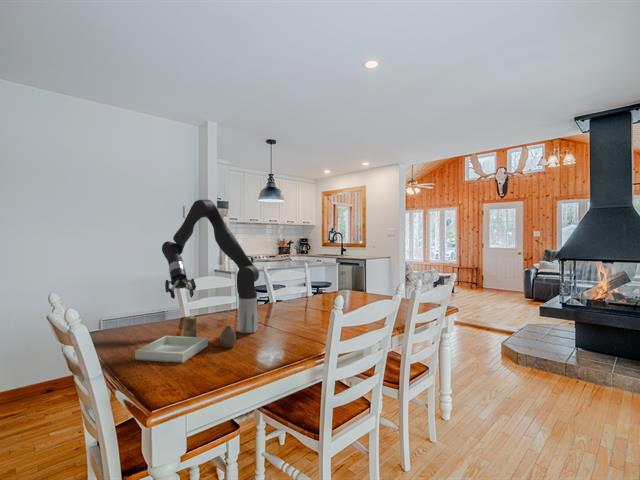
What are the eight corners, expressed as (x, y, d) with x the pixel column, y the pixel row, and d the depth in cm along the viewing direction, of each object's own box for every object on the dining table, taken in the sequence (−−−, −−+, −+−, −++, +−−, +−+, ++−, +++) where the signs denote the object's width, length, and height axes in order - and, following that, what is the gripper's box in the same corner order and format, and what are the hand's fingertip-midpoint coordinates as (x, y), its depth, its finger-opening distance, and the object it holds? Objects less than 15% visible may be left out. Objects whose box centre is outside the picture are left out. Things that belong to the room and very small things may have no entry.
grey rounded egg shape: (239, 344, 148) (239, 325, 148) (230, 349, 142) (230, 329, 142) (226, 343, 151) (226, 323, 151) (216, 347, 144) (216, 327, 144)
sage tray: (207, 345, 147) (207, 337, 146) (182, 362, 127) (182, 353, 127) (165, 343, 149) (165, 335, 149) (135, 359, 130) (135, 350, 130)
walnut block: (193, 336, 160) (193, 315, 159) (196, 339, 156) (196, 317, 156) (183, 338, 157) (183, 316, 157) (186, 341, 153) (186, 318, 153)
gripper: (164, 267, 168) (169, 293, 159) (193, 266, 176) (199, 291, 167) (161, 277, 172) (166, 303, 163) (189, 275, 181) (195, 300, 172)
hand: (183, 297), depth 165 cm, fingers open, 8 cm apart
